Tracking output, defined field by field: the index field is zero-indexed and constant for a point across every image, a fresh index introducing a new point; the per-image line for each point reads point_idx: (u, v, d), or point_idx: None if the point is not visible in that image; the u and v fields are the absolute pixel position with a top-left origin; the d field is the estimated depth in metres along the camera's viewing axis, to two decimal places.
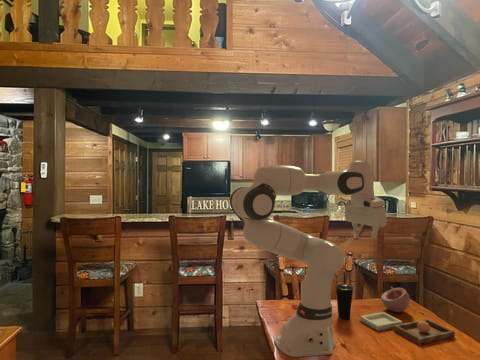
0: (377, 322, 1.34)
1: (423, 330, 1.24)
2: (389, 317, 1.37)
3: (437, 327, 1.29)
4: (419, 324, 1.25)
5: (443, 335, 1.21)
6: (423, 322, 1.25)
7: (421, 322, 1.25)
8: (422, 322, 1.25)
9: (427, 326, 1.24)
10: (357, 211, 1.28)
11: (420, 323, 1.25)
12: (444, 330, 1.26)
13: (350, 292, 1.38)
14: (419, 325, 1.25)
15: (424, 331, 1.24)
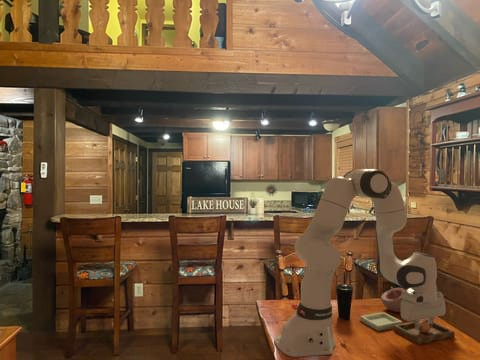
0: (377, 322, 1.34)
1: (423, 330, 1.24)
2: (389, 317, 1.37)
3: (437, 327, 1.29)
4: (419, 324, 1.25)
5: (443, 335, 1.21)
6: (423, 322, 1.25)
7: (421, 322, 1.25)
8: (422, 322, 1.25)
9: (427, 326, 1.24)
10: None
11: (420, 323, 1.25)
12: (444, 330, 1.26)
13: (350, 292, 1.38)
14: None
15: (424, 331, 1.24)
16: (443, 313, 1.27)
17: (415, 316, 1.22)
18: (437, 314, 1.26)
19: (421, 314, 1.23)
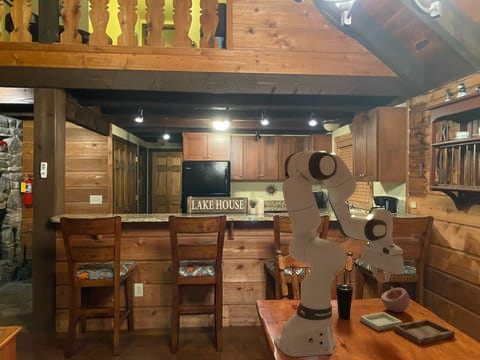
0: (377, 322, 1.34)
1: None
2: (389, 317, 1.37)
3: (437, 327, 1.29)
4: (383, 276, 1.33)
5: (443, 335, 1.21)
6: (383, 273, 1.34)
7: (382, 273, 1.34)
8: (383, 273, 1.34)
9: None
10: (375, 255, 1.36)
11: (383, 274, 1.33)
12: (444, 330, 1.26)
13: (350, 292, 1.38)
14: None
15: None
16: None
17: None
18: None
19: None
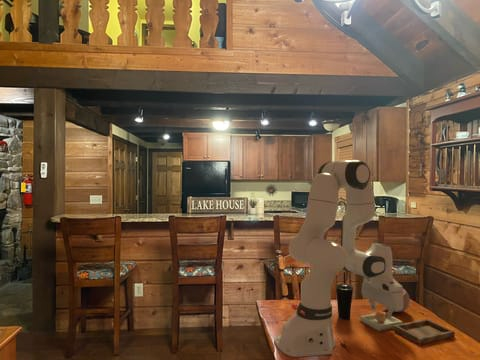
0: (377, 322, 1.34)
1: None
2: None
3: (437, 327, 1.29)
4: (383, 315, 1.33)
5: (443, 335, 1.21)
6: (382, 312, 1.35)
7: (382, 313, 1.34)
8: (382, 312, 1.34)
9: None
10: (374, 290, 1.36)
11: (383, 314, 1.33)
12: (444, 330, 1.26)
13: (350, 292, 1.38)
14: (383, 316, 1.33)
15: None
16: None
17: None
18: None
19: None
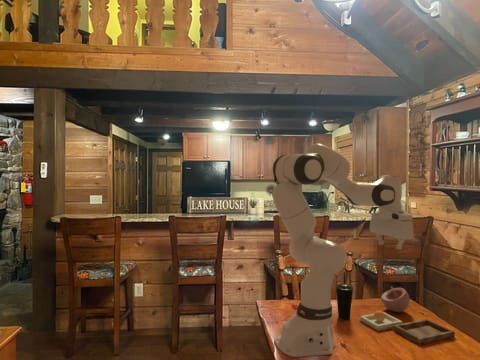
0: (377, 322, 1.34)
1: None
2: (389, 317, 1.37)
3: (437, 327, 1.29)
4: (381, 313, 1.34)
5: (443, 335, 1.21)
6: (380, 311, 1.36)
7: (379, 311, 1.35)
8: (380, 311, 1.35)
9: None
10: (383, 223, 1.34)
11: (380, 312, 1.35)
12: (444, 330, 1.26)
13: (350, 292, 1.38)
14: (382, 314, 1.34)
15: (384, 318, 1.35)
16: None
17: None
18: None
19: None
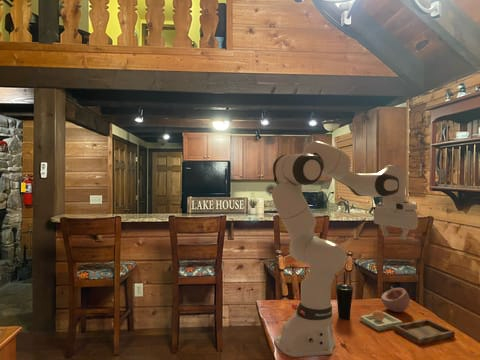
0: (377, 322, 1.34)
1: None
2: (389, 317, 1.37)
3: (437, 327, 1.29)
4: (379, 312, 1.35)
5: (443, 335, 1.21)
6: (378, 310, 1.37)
7: (378, 310, 1.36)
8: (378, 310, 1.36)
9: None
10: (387, 214, 1.33)
11: (378, 311, 1.36)
12: (444, 330, 1.26)
13: (350, 292, 1.38)
14: (380, 312, 1.35)
15: (383, 316, 1.35)
16: None
17: None
18: None
19: None
